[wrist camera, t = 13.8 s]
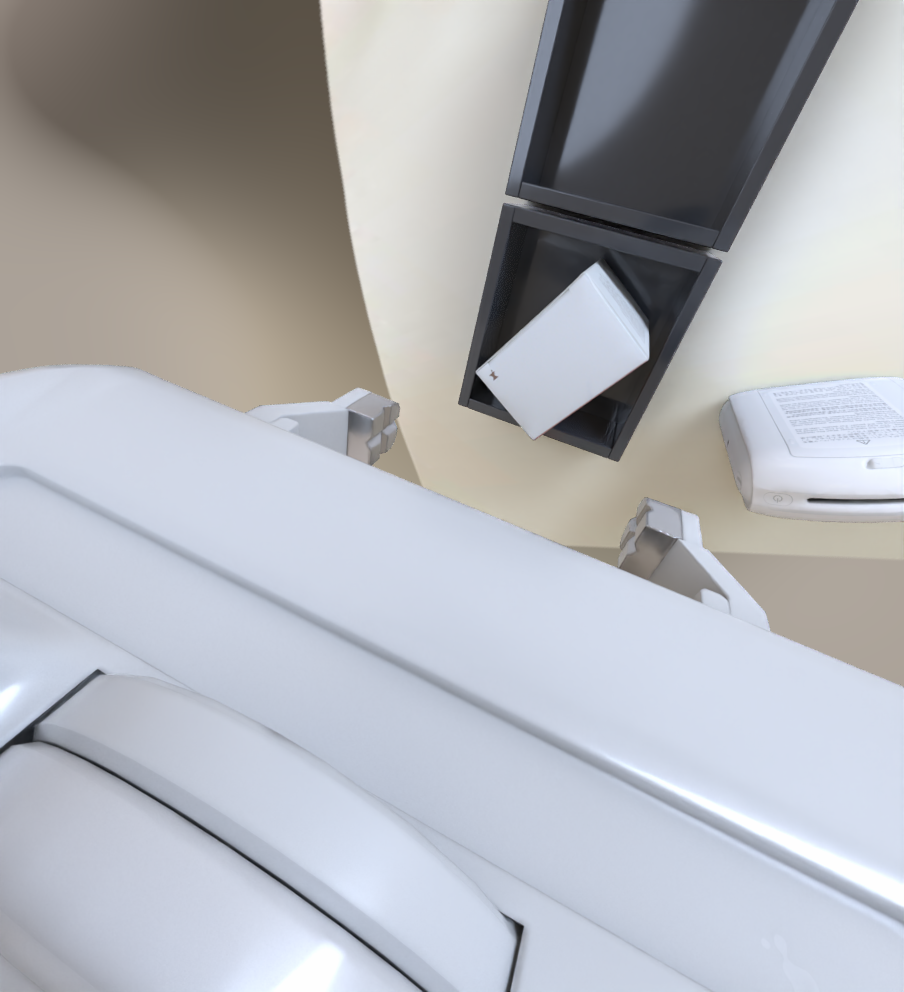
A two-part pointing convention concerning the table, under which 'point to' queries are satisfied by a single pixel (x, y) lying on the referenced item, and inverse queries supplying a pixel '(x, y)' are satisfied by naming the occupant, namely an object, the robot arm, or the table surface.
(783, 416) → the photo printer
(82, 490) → the robot arm
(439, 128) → the table surface
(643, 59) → the basin
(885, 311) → the table surface
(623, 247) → the basin
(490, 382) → the small box
